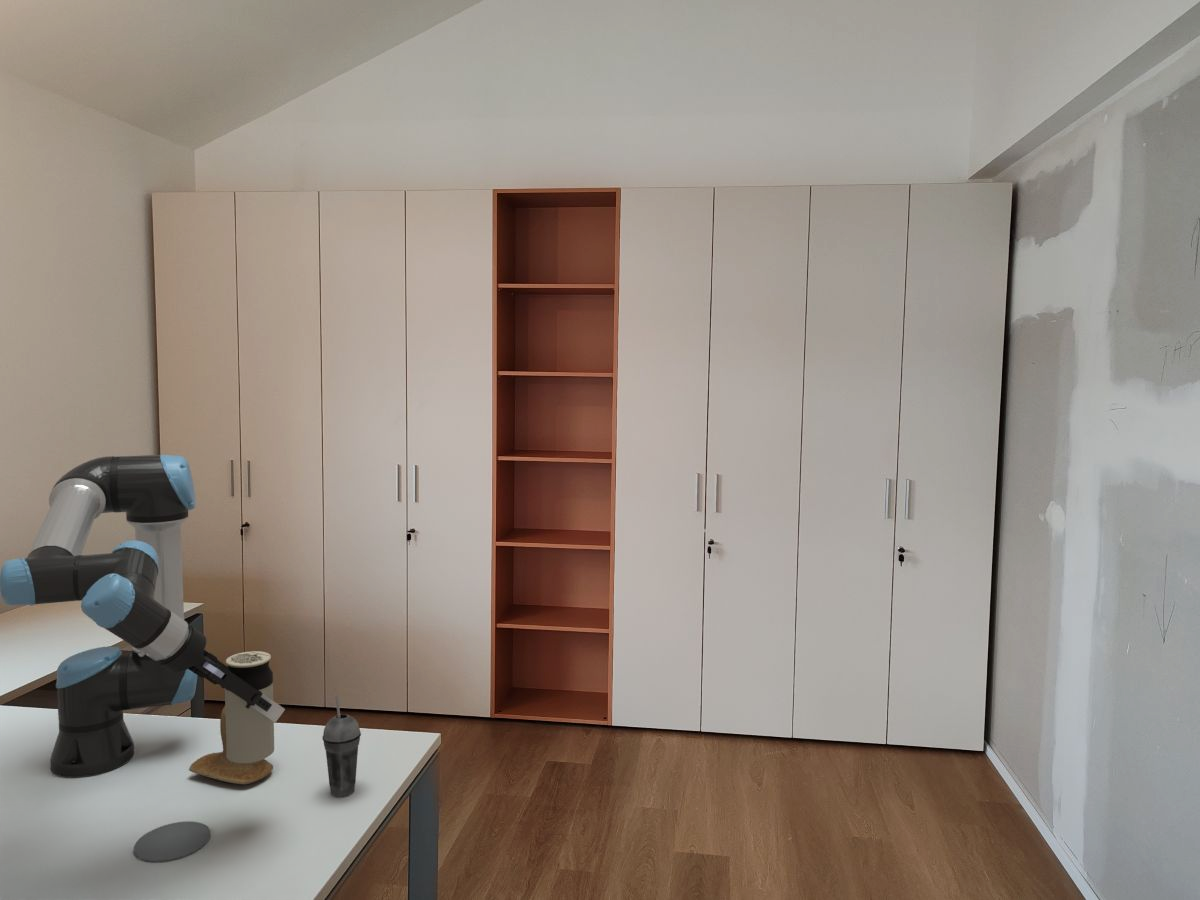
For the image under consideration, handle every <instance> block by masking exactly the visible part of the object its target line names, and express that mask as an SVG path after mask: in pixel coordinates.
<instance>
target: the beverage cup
mask: <svg viewBox="0 0 1200 900" xmlns="http://www.w3.org/2000/svg"><path fill="white" fill-rule="evenodd" d="M335 703H336V713H337V715H335V716H333V717H331V718H330V719H329V720H328V722H327V723H326V724H325V726H324V729H323V735H322V737H321V738H322V741H323V747H324V750H325V755H326V765H327V766H326V767H327V774H328V784H329V791H330V796H332V797H334V798H345V797H344V796H346V797H349V796H351V795H353V794H354V793H353V792H355V787H356V780H357V778H356V777H357V766H358V755H359V753H358V751H359V745H360V740H361V735H362V733H361V728H360V725H359V722H358V721H357V719H356V718H354V716H351V715H349V714H346V713H341V711H340V710H341V708H340V701H339V695H335ZM350 794H351V795H350ZM348 795H349V796H348Z"/></svg>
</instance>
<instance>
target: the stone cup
mask: <svg viewBox="0 0 1200 900" xmlns="http://www.w3.org/2000/svg"><path fill="white" fill-rule="evenodd" d="M219 721H220V722H219V726H220V727H219V728H220V729H219V731H220V738H221V745H222V751H220V752H211V753H208V754H205V755H203V756H201V757H199V758H197V759H196V760H195V761H194V762H192V763H191V764H190V766H189V769H188V771H189V772H191V773H194V774H197V775H200V776H203V777H208V778H209V779H214V780H218V781H222V782H226V783H232V784H235V785H236V784H238V785H248V784H253V783H256V782H258V781H260V780H262V779H264V778H265V777H267V776H268V775H270V774H271V771H273V769H274V765H273V764H272V763H270V761H268V760H267V759H266V758H265V759H263V760H260V761H257V762H253V763H235V762H232V761H230V760H228V759H227V750H226V713H225V706H224V707H223V708H222V710H221V714H220V720H219Z"/></svg>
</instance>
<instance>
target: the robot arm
mask: <svg viewBox="0 0 1200 900" xmlns="http://www.w3.org/2000/svg"><path fill="white" fill-rule="evenodd" d="M190 467H191V466H190V463H189V462H188V460H187V459H186V457H184V456H182V455H173V454H172V455H171V454H170V455H169V454H148V455H146V454H145V455H124V456H110V455H109V456H100V457H97V458H94V459H90V460H88V461H86V462H83V463H80V464H79V465H77V466H75V467H73V468H72V469H70V470H69V471H68V472H66V473H65V474H64V475H62V476H61V477H59V479H58V480H57V481H56V482H55V484H54V486H53V487H52V489H51V492H50V493H49V497H48V504H49V510H48V511H47V513H46V515H45V518H44V520H43V522H42V524H41V527H40V529H39V531H38V533H37V535H36V537H35V539H34V542H33V544H32V545H31V548H30V550H29V552H28V555H27V556H26V558H25V557H20V558H14V559H13V558H12V559H9V560H6V561H5V562H4V563H3V564H2V567H1V569H0V597H1V598H2V601H3V602H4V603H5V604H6V605H8V606H25V605H26V606H28V605H29V606H36V605H45V604H54V603H66V602H77V601H78V602H79V601H81V603H80V608H81V612H82V613H83V615H85V616H87V617H88V618H89V619H91V620H92V621H93V622H94V623H96V625H97V626H98V627H100V628H103V629H105V630H107V631H108V632H110V633H111V634H113V635H114V636H116V637H118V638H120V639H121V640H122V641H124V642H125V643H127V644H129V645H130V646H131V653H126V654H125V653H124V654H123V652H122V650H121V648H120V647H119V646H101V647H95V648H91V649H86V650H84V651H81V652H77V653H75V654H73V655H71V656H68V657H67V658H66V659H64V660H62V662H60V663H59V664H58V667H57V670H56V683H55V688H56V695H57V696H56V697H57V715H58V718H57V719H58V734H57V737H56V739H55V743H54V747H53V748H52V749H53V750H52V752H51V755H50V759H49V761H50V772H51V773H52V774H53V775H55V776H58V777H63V778H82V777H83V778H84V777H89V776H96V775H99V774H103V773H106V772H109V771H112V770H114V769H118V768H119V767H121V766H123V765H125V764H126V763H128V762H130V760H131V759H133V757H134V755H135V744H134V740H133V737H132V736H131V733H130V731H129V729H128V727H127V725H126V722H125V719H124V711H127V710H137V709H146V708H153V707H163V706H173V705H177V704H182V703H187V702H190V701H192V699H193V698H194V696H195V693H196V689H197V688H196V687H197V680H198V677H200V678H204V679H206V680H207V681H209V682H210V683H211V684H213V685H219V687H220V688H222V689H225V688H226V689H228V690H229V691H231V692H232V693H234V694H235V695H237V696H238V697H240V698H241V699H243V700H244V701H246V702H247V705H246V706H245V707H246V708H247V709H249V708H250V706H251V707H253V708H254V709H256V710H257V711H259V712H260V713H262V714H263V715H265V716H266V717H267V718H269V719H270V720H272V721H273V722H274V723H277V722H278V719H280V717H281V716H282V714H283V713H284V711H285V710H286V709H285V708H284V707H283V706H281V705H280V704H278V703H277V702H276V701H274V699H273V700H271V699H270V698H268V697H267V696H265V695H264V694H263V693H261V691H259V690H256V689H255V688H253V687H252V686H251V685H249V684H248V683H246V682H245V681H243V680H242V679H240V678H239V677H237V676H236V675H235V674H233V673H232V672H230V671H229V668H228V665H227V664H224V663H223V662H221V661H220V660H219V659H218V657H217V656H215V655H214V654H213V653H211V652H208V651H207V650H205V649H206V646H207V637H206V635H205V634H203V633H202V632H201V631H199V630H198V629H196V628H195V627H194V626H192V625H189V623H188V622H187V621H186V620H185V613H184V612H185V610H184V603H185V602H184V580H183V579H184V578H183V577H184V576H183V555H182V553H183V552H182V551H183V549H182V528H181V527H182V525H183V523H184V522H185V521H186V520H188V519H189V511H192V510H194V509H195V508H196V496H195V493H196V492H195V486H194V480H193V476H192V471H191V468H190ZM106 513H114V514H115V513H125V516H126V517H125V520H126V523H128V524H129V525H130V526H132V527H133V528H134V533H135V540H134V539H133V540H127V541H124V542H122V543H120V544H117V546H115V547H114V548H113V549H112V552H110V553H109V552H108V553H95V554H93V553H92V554H82V553H83V551H84V549H85V545H86V542H87V540H88V537H89V535H90V531H91V529H92V527H93V523H94V521H95V520H96V519H97V518H99V516H100V515H102V514H106Z"/></svg>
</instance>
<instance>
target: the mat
mask: <svg viewBox="0 0 1200 900" xmlns="http://www.w3.org/2000/svg"><path fill="white" fill-rule="evenodd" d="M211 834H212V832H211V828H210V827H209V826H208V825H206V824H205V823H203V822H202V823H201V822H198V821H178V822H173V823H168V824H165V825H161V826H159V827H156V828H154V829H151V830H150V831H147V833H145V834H143V835H142V836H141V837H140V838H138V839H137V841H136V842H135V844H134V847H133V854H134V856H135V857H136V859H138V858H139V859H138V860H140V859H141V860H140V861H143V860H144V862H146V861H147V863H164V862H172V861H176V860H179V859H183V858H185V857H189V855H192V854H194V853H196V852H198V851H199V850H201V849H202V848H204V846H206V845H207V844H208V843H209V841H210V840H211Z"/></svg>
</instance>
